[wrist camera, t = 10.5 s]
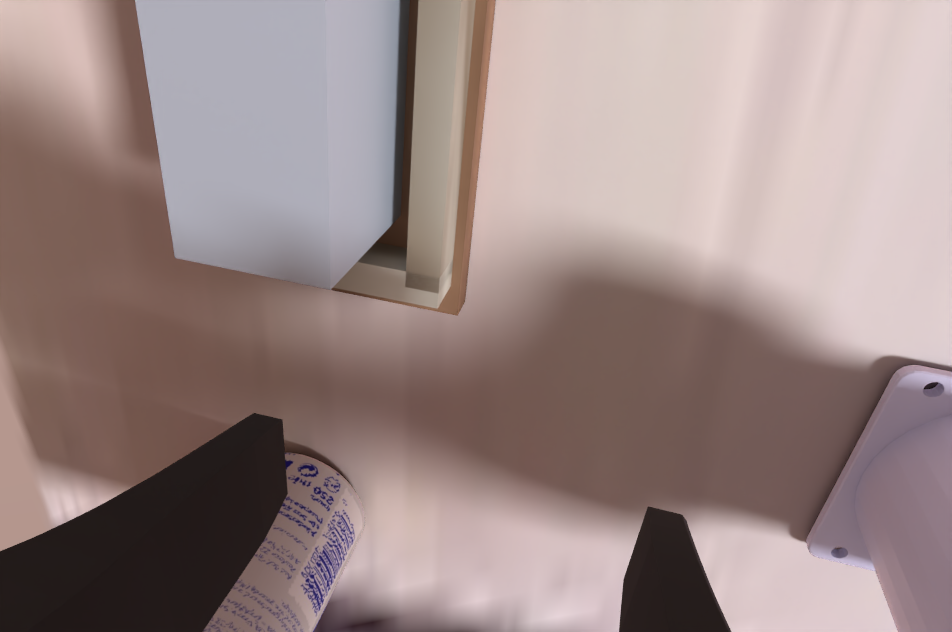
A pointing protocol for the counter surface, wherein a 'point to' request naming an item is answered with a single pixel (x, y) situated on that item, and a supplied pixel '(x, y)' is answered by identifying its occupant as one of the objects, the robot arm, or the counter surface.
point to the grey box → (278, 129)
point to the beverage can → (297, 555)
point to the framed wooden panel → (434, 161)
